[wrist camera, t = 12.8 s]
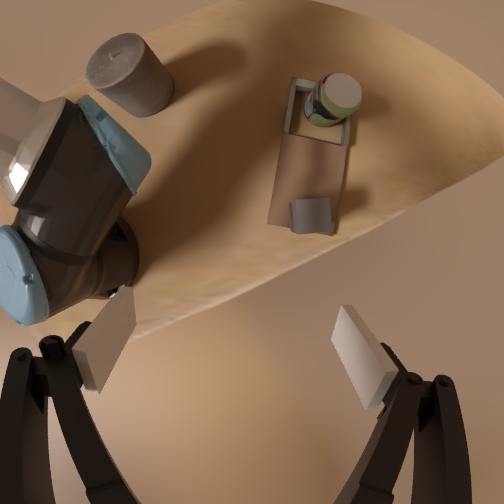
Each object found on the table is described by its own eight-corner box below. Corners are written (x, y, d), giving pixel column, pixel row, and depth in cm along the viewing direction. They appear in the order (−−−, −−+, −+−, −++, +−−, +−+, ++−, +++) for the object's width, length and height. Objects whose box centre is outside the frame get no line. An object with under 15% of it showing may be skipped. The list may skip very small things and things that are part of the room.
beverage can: (326, 91, 38) (345, 54, 26) (349, 128, 38) (377, 99, 26) (294, 104, 38) (304, 67, 26) (317, 142, 39) (337, 114, 27)
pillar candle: (149, 65, 38) (113, 22, 23) (186, 84, 38) (155, 36, 23) (115, 105, 39) (68, 74, 24) (150, 127, 39) (104, 95, 25)
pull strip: (266, 226, 41) (268, 228, 31) (291, 82, 38) (298, 51, 28) (330, 238, 40) (350, 244, 31) (349, 96, 37) (368, 70, 28)
